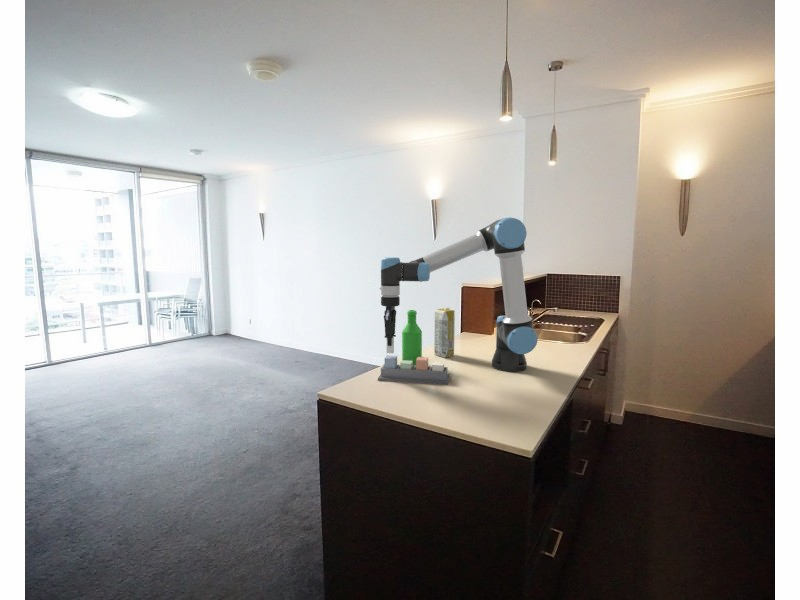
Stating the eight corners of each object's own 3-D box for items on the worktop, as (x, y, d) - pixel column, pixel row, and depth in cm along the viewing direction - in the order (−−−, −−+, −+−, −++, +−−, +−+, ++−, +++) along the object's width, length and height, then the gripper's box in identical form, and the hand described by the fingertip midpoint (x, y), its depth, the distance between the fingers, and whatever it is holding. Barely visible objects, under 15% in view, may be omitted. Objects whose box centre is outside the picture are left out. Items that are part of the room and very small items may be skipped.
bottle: (420, 368, 179) (420, 312, 175) (400, 367, 181) (400, 312, 177) (422, 362, 187) (423, 309, 184) (404, 361, 189) (404, 308, 186)
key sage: (412, 372, 168) (412, 360, 167) (410, 375, 164) (410, 363, 163) (402, 371, 169) (402, 360, 168) (400, 375, 164) (400, 363, 164)
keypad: (449, 375, 168) (449, 365, 168) (447, 384, 158) (447, 373, 157) (384, 372, 174) (384, 362, 173) (377, 380, 163) (377, 370, 163)
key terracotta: (428, 369, 166) (428, 357, 166) (426, 372, 162) (426, 360, 161) (417, 368, 167) (417, 356, 167) (416, 371, 163) (416, 359, 162)
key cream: (444, 374, 165) (444, 362, 165) (443, 377, 161) (443, 365, 160) (433, 373, 166) (433, 361, 166) (432, 377, 162) (432, 364, 161)
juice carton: (456, 356, 197) (457, 307, 194) (444, 359, 193) (444, 309, 190) (444, 352, 205) (444, 305, 202) (431, 354, 201) (432, 306, 197)
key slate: (397, 367, 169) (397, 355, 168) (395, 370, 165) (395, 358, 164) (387, 367, 170) (386, 355, 169) (384, 370, 166) (384, 358, 165)
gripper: (385, 293, 170) (384, 348, 173) (377, 297, 157) (377, 356, 161) (402, 294, 169) (402, 349, 172) (396, 298, 156) (395, 357, 159)
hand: (390, 352), depth 166 cm, fingers closed
